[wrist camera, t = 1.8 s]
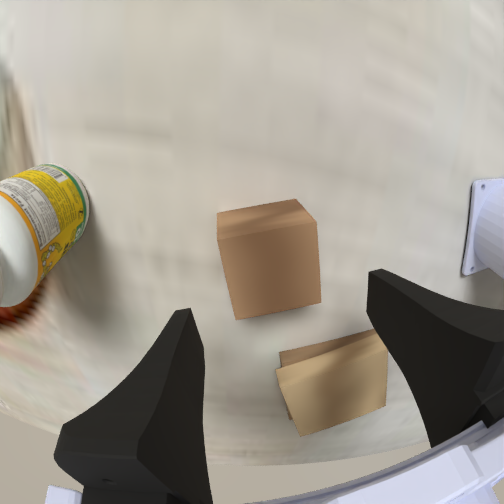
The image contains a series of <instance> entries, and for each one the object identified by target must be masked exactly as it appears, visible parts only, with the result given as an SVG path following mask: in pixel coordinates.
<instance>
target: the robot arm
mask: <svg viewBox="0 0 504 504" xmlns="http://www.w3.org/2000/svg"><path fill="white" fill-rule="evenodd" d="M481 186H482V188H481ZM487 268H490V269H491V270H493V271H494V272H495V273H496V274H498V275H499V276H500V277H502V278H503V279H504V178H495V179H484V180H476V181H475V182H474V183H473V186H472V198H471V210H470V220H469V228H468V236H467V243H466V250H465V256H464V262H463V267H462V273H463V274H464V275H465V276H467V275H470V274H473V273H476V272H479V271H481V270H484V269H487ZM366 312H367V314H368V316H369V319H370V321H371V323H372V325H373V327H374V329H375V331H376V332H377V334H378V336H379V337H380V339H381V340H382V342H383V343H384V345H385V346H386V348H387V349H388V351H389V352H390V354H391V355H392V357H393V358H394V360H395V361H396V363H397V364H398V366H399V367H400V369H401V371H402V373H403V374H404V376H405V378H406V380H407V383H408V385H409V387H410V389H411V391H412V393H413V396H414V398H415V401H416V403H417V406H418V408H419V411H420V413H421V416H422V419H423V422H424V425H425V428H426V431H427V435H428V438H429V442H430V445H431V449H429V450H427V451H425V452H423V453H421V454H419V455H417V456H415V457H413V458H410V459H408V460H406V461H403V462H401V463H398V464H396V465H394V466H391V467H389V468H386V469H384V470H381V471H378V472H376V473H373V474H370V475H367V476H364V477H361V478H358V479H355V480H352V481H349V482H346V483H343V484H339V485H335V486H332V487H328V488H325V489H321V490H317V491H313V492H308V493H304V494H300V495H295V496H290V497H285V498H280V499H273V500H267V501H261V502H253V503H245V504H500V503H499V501H498V499H497V497H496V495H495V493H494V491H493V489H492V486H494V485H495V484H496V483H498V482H499V481H500V480H502V479H503V478H504V310H497V309H490V308H485V307H480V306H475V305H471V304H467V303H464V302H461V301H457V300H454V299H451V298H448V297H445V296H443V295H440V294H438V293H435V292H433V291H430V290H428V289H426V288H424V287H421V286H419V285H417V284H415V283H413V282H411V281H408V280H406V279H404V278H402V277H400V276H398V275H396V274H393V273H391V272H389V271H386V270H384V269H378V270H374V271H370V272H369V276H368V295H367V310H366ZM204 379H205V360H204V347H203V344H202V341H201V338H200V335H199V332H198V329H197V326H196V323H195V320H194V317H193V314H192V311H191V308H187V309H181V310H176V311H175V312H174V314H173V315H172V317H171V318H170V320H169V321H168V323H167V324H166V326H165V327H164V329H163V331H162V332H161V334H160V335H159V337H158V338H157V340H156V341H155V343H154V344H153V345H152V347H151V348H150V350H149V351H148V352H147V354H146V355H145V356H144V358H143V359H142V360H141V361H140V363H139V364H138V365H137V366H136V367H135V368H134V370H133V371H132V372H131V373H130V374H129V375H128V376H127V377H126V378H125V379H124V380H123V381H122V382H121V383H120V384H119V385H118V386H117V387H116V388H114V389H113V390H112V391H111V392H110V393H109V394H108V395H107V396H105V397H104V398H103V399H102V400H100V401H99V402H98V403H96V404H95V405H94V406H92V407H91V408H89V409H88V410H87V411H85V412H84V413H82V414H80V415H79V416H77V417H75V418H74V419H72V420H70V421H69V422H67V423H65V424H63V426H62V429H61V432H60V435H59V438H58V442H57V445H56V449H55V452H54V459H55V461H56V463H57V464H58V466H59V467H60V468H62V469H63V470H64V471H65V472H66V473H67V474H69V475H70V476H71V477H73V478H74V479H75V480H77V481H78V482H79V483H81V484H82V485H84V489H83V493H81V492H79V491H76V490H72V489H68V488H63V487H59V486H54V485H49V487H48V491H47V496H46V500H45V504H213V501H212V495H211V490H210V484H209V477H208V471H207V463H206V454H205V445H204V434H203V397H204Z"/></svg>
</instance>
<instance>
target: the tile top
mask: <svg viewBox="0 0 504 504" xmlns="http://www.w3.org/2000/svg"><path fill="white" fill-rule="evenodd" d="M387 358H388V349H387V348H386V346H385V345H384V343H383V342H382V340H381V339H380V337H379V336H378V334H374V335H372V336H369V337H367V338H364V339H362V340H359V341H357V342H354V343H352V344H349V345H346V346H344V347H341V348H338V349H336V350H333V351H330V352H327V353H325V354H322V355H319V356H316V357H313V358H310V359H307V360H304V361H301V362H298V363H295V364H292V365H289V366H285V367H282V368H279V369H276V374H277V378H278V382H279V386H280V389H281V392H282V394H283V396H284V399H285V401H286V404H287V406H288V408H289V411H290V413H291V416H292V418H293V420H294V423H295V425H296V427H297V430H298V432H299V434H300V437H301V436H305V435H308V434H311V433H314V432H318V431H321V430H324V429H327V428H330V427H333V426H335V425H338V424H341V423H344V422H347V421H349V420H352V419H355V418H357V417H360V416H362V415H365V414H367V413H370V412H372V411H374V410H377V409H379V408H381V407H384V406H386V390H387Z"/></svg>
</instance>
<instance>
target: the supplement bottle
mask: <svg viewBox="0 0 504 504" xmlns="http://www.w3.org/2000/svg"><path fill="white" fill-rule="evenodd" d="M88 217H89V200H88V196H87V193H86V190H85V188H84V186H83V184H82V183H81V181H80V179H79V178H78V177H77V175H76V174H74V173H73V172H72V171H71V170H69V169H68V168H66V167H65V166H62V165H59V164H54V163H47V164H42V165H39V166H36V167H33V168H31V169H28V170H26V171H24V172H21V173H19V174H17V175H14V176H12V177H10V178H8V179H5V180H3V181H0V306H1V307H9V306H14V305H17V304H19V303H20V302H22V301H23V300H25V299H26V298H27V297H28V296H29V295H30V293H31V292H32V291H33V290H34V289H35V287H36V286H37V285H38V284H39V283H40V281H41V280H42V279H43V278H44V277H45V276H46V274H47V273H48V272H49V271H50V270H51V269H52V268H53V267H54V265H55V264H56V263H57V262H58V261H59V260H60V259H61V258H62V257H63V256H64V254H65V253H66V252H67V251H68V250H69V249H70V248H71V247H72V246H73V245H74V244H75V243H76V242H77V241H78V239H79V238H80V237H81V235H82V234H83V232H84V229H85V227H86V224H87V221H88Z"/></svg>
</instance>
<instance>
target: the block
mask: <svg viewBox="0 0 504 504" xmlns="http://www.w3.org/2000/svg"><path fill="white" fill-rule="evenodd" d="M217 241H218V246H219V250H220V255H221V259H222V264H223V268H224V272H225V277H226V281H227V285H228V290H229V294H230V298H231V302H232V307H233V311H234V315H235V319H236V320H239V319H245V318H250V317H255V316H260V315H266V314H271V313H276V312H281V311H285V310H290V309H295V308H300V307H304V306H309V305H313V304H318V303H321V285H320V266H319V250H318V236H317V223H316V221H315V219H314V218H313V217H312V216H311V215H310V214H309V213H308V212H307V211H306V209H305V208H304V207H303V206H302V205H301V204H300V203H299V202H298V201H297V199H292V200H286V201H280V202H274V203H269V204H263V205H257V206H252V207H246V208H241V209H236V210H230V211H225V212H220V213H217Z"/></svg>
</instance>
